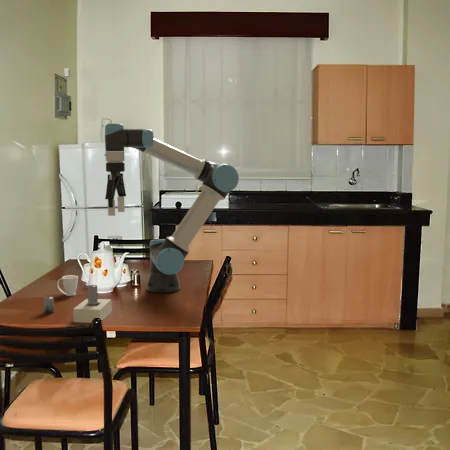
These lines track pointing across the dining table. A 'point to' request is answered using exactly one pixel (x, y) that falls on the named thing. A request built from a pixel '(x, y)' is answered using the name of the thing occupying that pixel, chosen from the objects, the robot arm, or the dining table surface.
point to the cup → (69, 284)
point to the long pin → (92, 295)
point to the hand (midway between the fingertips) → (116, 213)
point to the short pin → (48, 305)
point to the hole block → (92, 311)
